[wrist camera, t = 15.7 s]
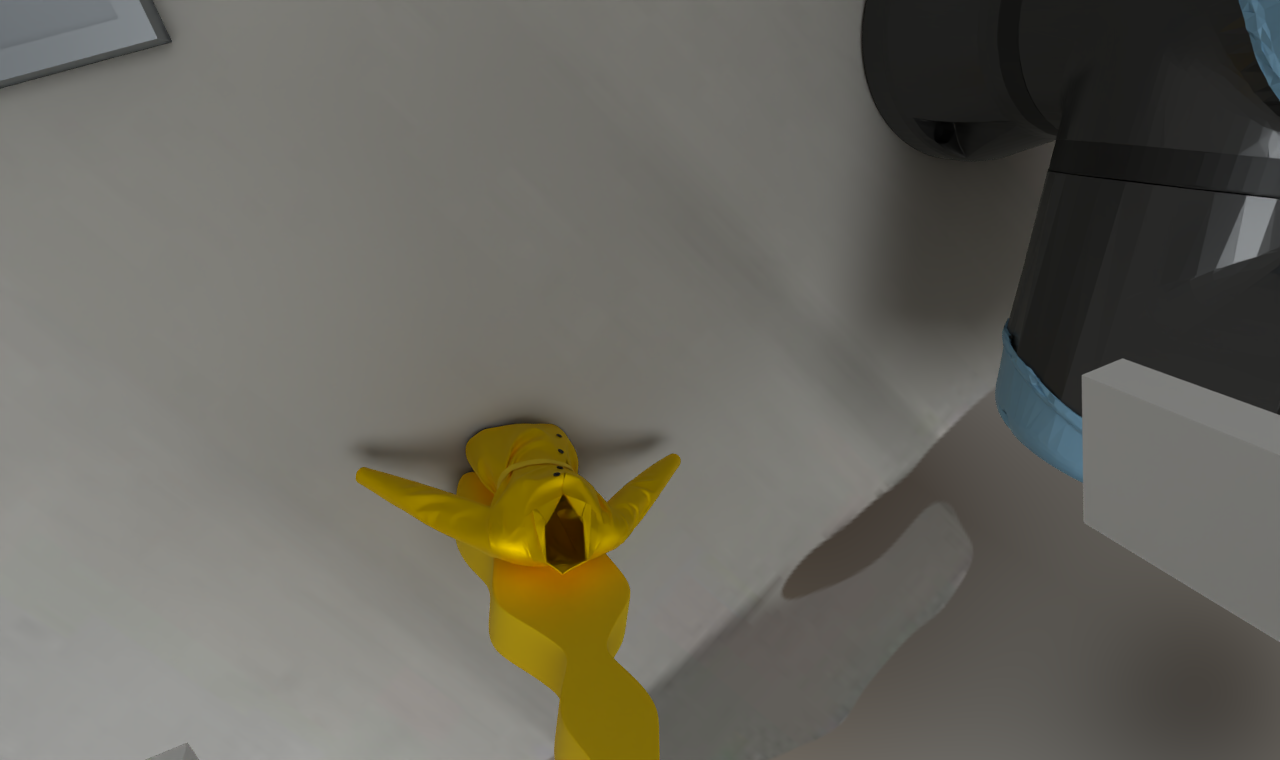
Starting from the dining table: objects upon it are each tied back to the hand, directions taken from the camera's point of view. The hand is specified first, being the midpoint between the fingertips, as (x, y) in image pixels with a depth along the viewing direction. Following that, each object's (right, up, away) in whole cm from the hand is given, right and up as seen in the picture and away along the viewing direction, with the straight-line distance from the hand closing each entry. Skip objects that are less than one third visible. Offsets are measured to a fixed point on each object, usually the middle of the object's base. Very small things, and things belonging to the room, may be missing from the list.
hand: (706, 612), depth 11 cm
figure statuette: (-8, -2, +36) cm, 37 cm away
